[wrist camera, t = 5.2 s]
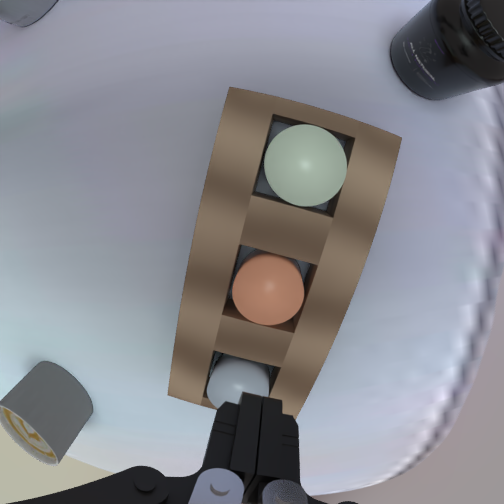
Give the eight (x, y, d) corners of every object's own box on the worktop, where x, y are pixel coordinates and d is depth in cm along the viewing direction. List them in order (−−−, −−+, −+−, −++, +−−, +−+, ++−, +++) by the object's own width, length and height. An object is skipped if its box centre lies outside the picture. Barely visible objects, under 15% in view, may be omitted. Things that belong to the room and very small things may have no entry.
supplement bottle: (378, 75, 19) (452, 14, 8) (399, 16, 17) (462, -54, 6) (447, 117, 19) (546, 99, 8) (463, 57, 17) (548, 20, 6)
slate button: (219, 344, 25) (212, 364, 22) (276, 358, 25) (276, 380, 22) (209, 385, 26) (202, 406, 23) (261, 398, 26) (259, 420, 23)
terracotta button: (246, 240, 23) (241, 250, 20) (309, 257, 23) (313, 270, 20) (231, 298, 25) (225, 315, 22) (290, 313, 25) (291, 332, 22)
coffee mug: (65, 358, 30) (18, 407, 20) (106, 418, 32) (73, 471, 22) (14, 364, 32) (-25, 401, 22) (49, 416, 34) (18, 455, 25)
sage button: (276, 122, 20) (275, 115, 17) (345, 142, 20) (355, 138, 17) (258, 190, 21) (255, 194, 18) (326, 209, 21) (334, 216, 18)
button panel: (235, 96, 21) (229, 86, 18) (387, 140, 21) (402, 137, 18) (176, 376, 28) (167, 395, 25) (291, 405, 28) (292, 426, 25)
